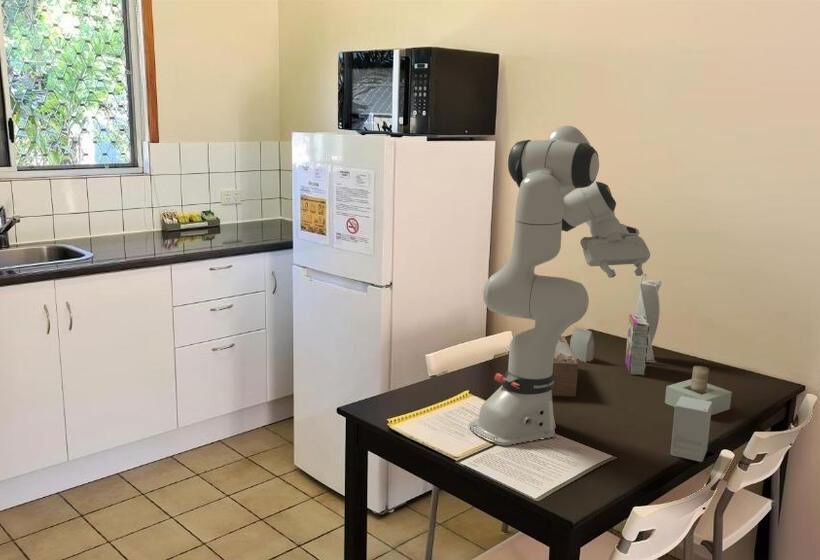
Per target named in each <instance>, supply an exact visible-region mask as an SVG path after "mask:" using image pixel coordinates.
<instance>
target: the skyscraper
mask: <svg viewBox="0 0 820 560" xmlns="http://www.w3.org/2000/svg"><path fill="white" fill-rule="evenodd" d="M640 277H641V278H640V280H639V282H638V283H639V289H640V291H639V295H638V299H637V303H636V307H635V315H644V316H645V318H646V320H647V322H648V324H649V334H648V346H647V357H646V362H650V363H657V360H655V355H654V351H653V345H652V344H653V341H654V339H655V336H656V333H657V330H658V325H659V320H660V311H661V309H660V298H659V291H660V288H661V286H662V281H658V282H656V281H655V280H654V279H653V280H652V279H647V274H646V273H643V274H642V275H641V276H640ZM643 278H644V279H643ZM642 280H644V281H642Z"/></svg>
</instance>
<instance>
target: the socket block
mask: <svg viewBox="0 0 820 560" xmlns="http://www.w3.org/2000/svg"><path fill="white" fill-rule="evenodd" d="M691 382H692V378H691V379H687V380H683V381H680V382H676V383H672V384H669V385H666V388H665V397H664V404H666V405H668V406H670V407H674V408H675V405H676V403H677V402H678V400H679V399H680V397H681V396H684V397H689V398H694V399H700V400H705V401H710V402H712V409H711V416H713V415H717V414H720V413H723V412H725V411H728V410H731V403H732V402H731V401H732V393H733V392H732V391H730V390H727V389H724V388H722V387H719V386H717V385H716V386H715V385H713V384H711V383H708V382H707V390H706V394H702V395H701V394H699V393H696V392H693V391H691Z"/></svg>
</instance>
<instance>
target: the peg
mask: <svg viewBox="0 0 820 560" xmlns="http://www.w3.org/2000/svg"><path fill="white" fill-rule="evenodd" d="M692 367H693V368H692V375H691V379H692V382H691V391H693V392H696V393H699V394H701V395H702V394H706V390H707V383H708V381H709V380H708V379H709V373H710V372H709V371H710V369H709V367H706V366H703V365H694V366H692Z"/></svg>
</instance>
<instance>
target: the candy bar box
mask: <svg viewBox="0 0 820 560" xmlns="http://www.w3.org/2000/svg"><path fill="white" fill-rule="evenodd" d="M627 324H628V325H627V337H626V351H625V363H624V364H625V366H626V369H627V371H628V373H629V375H632V376H645V375H646V365H647V363H646V357H647V346H648V334H649V324H648V322H647V320H646V318H645V316H644V315H636V314H632V313H631V314H628V322H627Z"/></svg>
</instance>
